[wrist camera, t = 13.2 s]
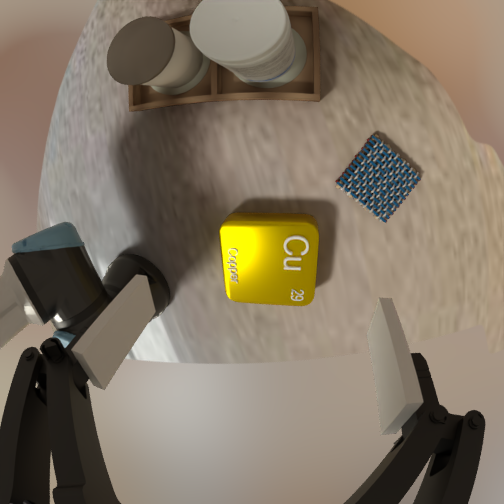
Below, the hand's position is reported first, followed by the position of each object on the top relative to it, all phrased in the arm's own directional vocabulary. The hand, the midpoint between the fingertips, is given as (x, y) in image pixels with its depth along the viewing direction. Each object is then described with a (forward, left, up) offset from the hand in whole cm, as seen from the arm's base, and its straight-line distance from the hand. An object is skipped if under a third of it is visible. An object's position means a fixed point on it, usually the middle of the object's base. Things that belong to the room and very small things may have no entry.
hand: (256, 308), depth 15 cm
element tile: (-2, -12, -29) cm, 32 cm away
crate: (-10, +20, -29) cm, 36 cm away
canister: (-17, +20, -28) cm, 38 cm away
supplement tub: (-4, +20, -28) cm, 35 cm away
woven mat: (+14, +2, -29) cm, 33 cm away
